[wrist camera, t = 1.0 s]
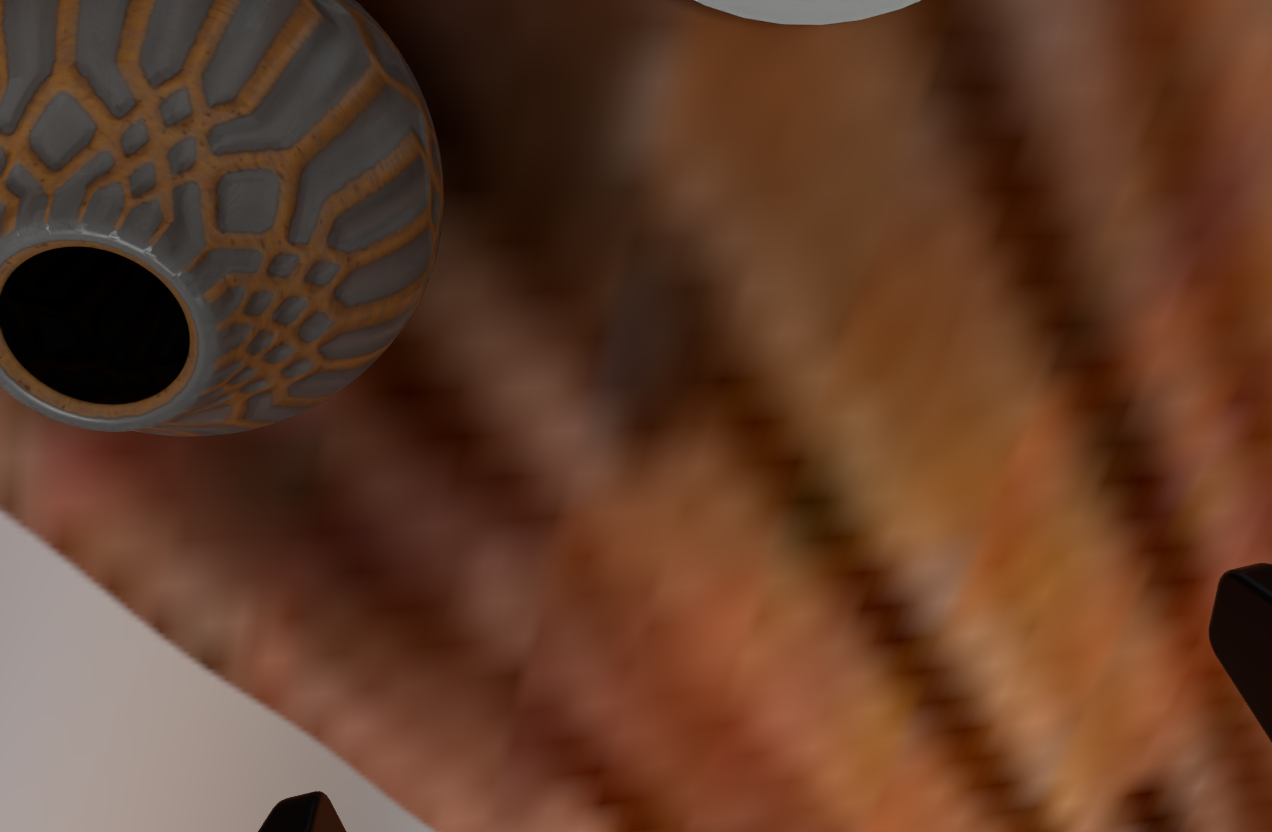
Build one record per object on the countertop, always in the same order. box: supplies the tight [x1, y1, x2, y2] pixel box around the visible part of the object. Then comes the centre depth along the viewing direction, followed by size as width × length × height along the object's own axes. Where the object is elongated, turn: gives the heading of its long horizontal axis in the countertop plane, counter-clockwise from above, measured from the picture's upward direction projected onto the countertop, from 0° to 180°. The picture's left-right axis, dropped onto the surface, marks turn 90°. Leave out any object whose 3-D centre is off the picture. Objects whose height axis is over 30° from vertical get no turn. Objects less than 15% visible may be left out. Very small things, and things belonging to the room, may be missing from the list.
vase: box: [0, 0, 444, 437], centre depth 13 cm, size 7×7×9 cm
